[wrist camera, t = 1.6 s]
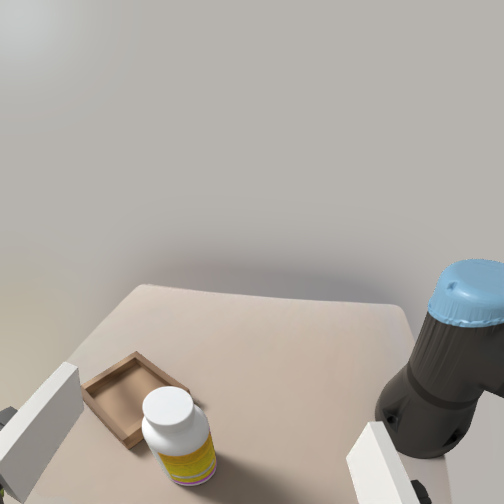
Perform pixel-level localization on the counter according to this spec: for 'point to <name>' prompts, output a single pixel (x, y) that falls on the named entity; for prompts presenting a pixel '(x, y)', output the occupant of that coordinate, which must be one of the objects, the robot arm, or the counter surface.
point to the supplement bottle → (178, 436)
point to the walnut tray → (125, 395)
